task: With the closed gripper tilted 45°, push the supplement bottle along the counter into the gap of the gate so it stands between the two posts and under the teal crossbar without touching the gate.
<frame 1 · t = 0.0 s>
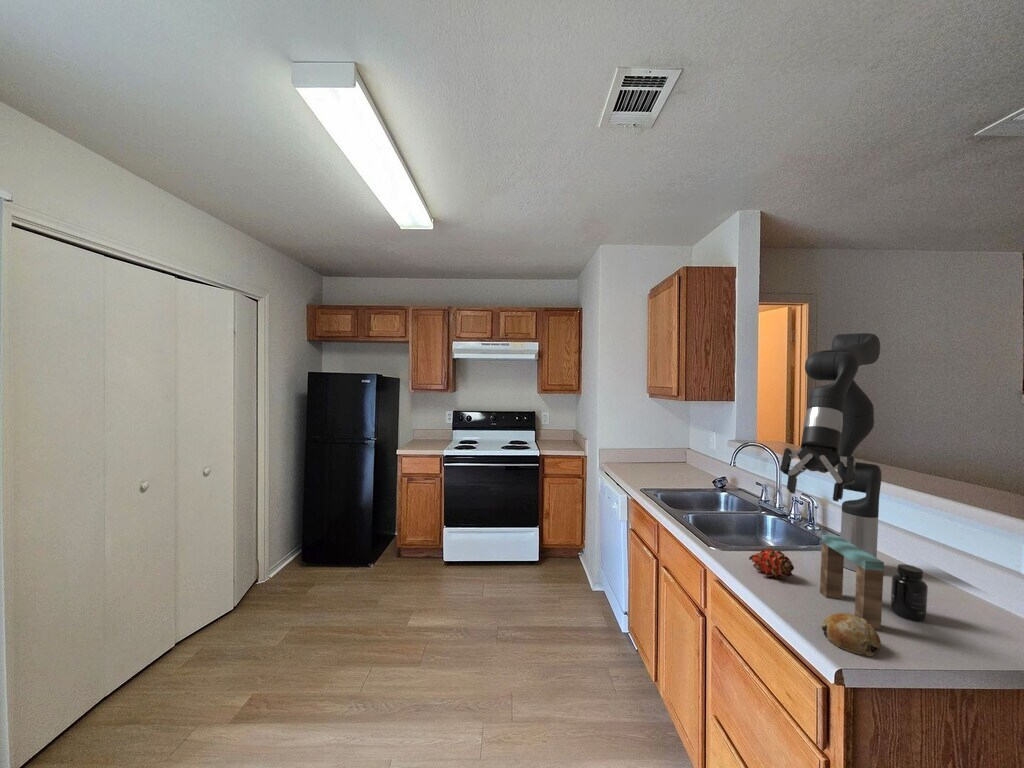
hand: (812, 496, 103), 31 cm above the worktop, tool tilted 20°, fingers open, 8 cm apart
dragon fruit: (770, 576, 134), on the worktop
supplement bottle: (907, 615, 113), on the worktop
bread roll: (848, 643, 100), on the worktop
gate: (847, 609, 115), on the worktop
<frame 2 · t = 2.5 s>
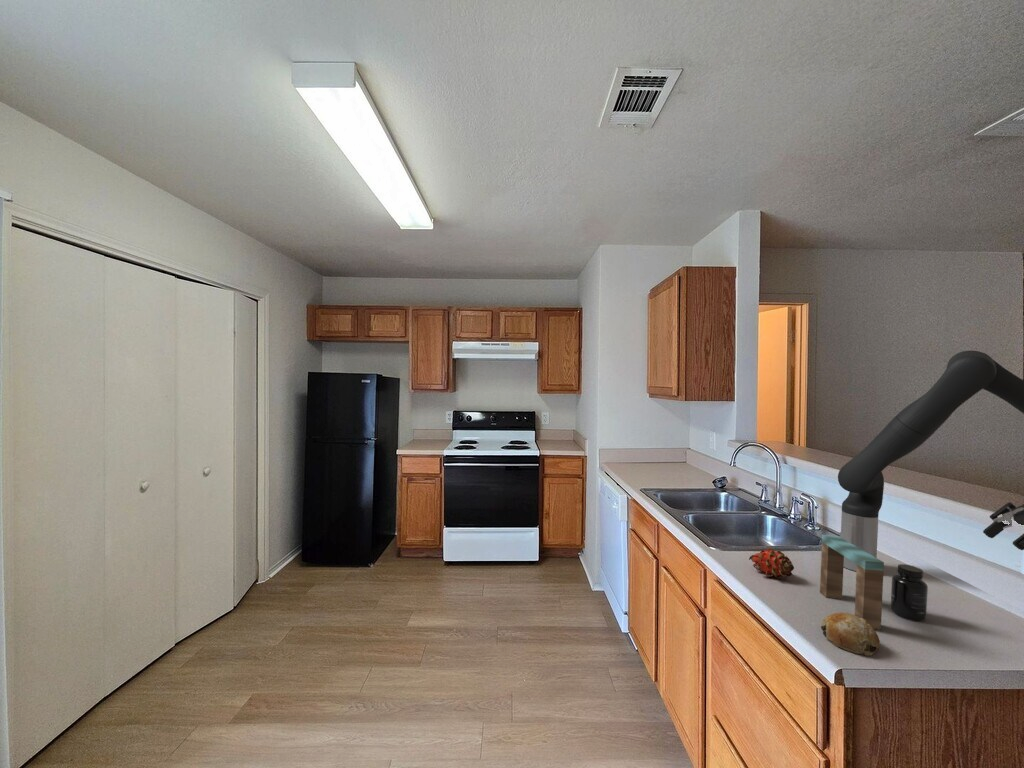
hand: (1001, 540, 110), 21 cm above the worktop, tool tilted 45°, fingers open, 8 cm apart
nothing on the worktop moved.
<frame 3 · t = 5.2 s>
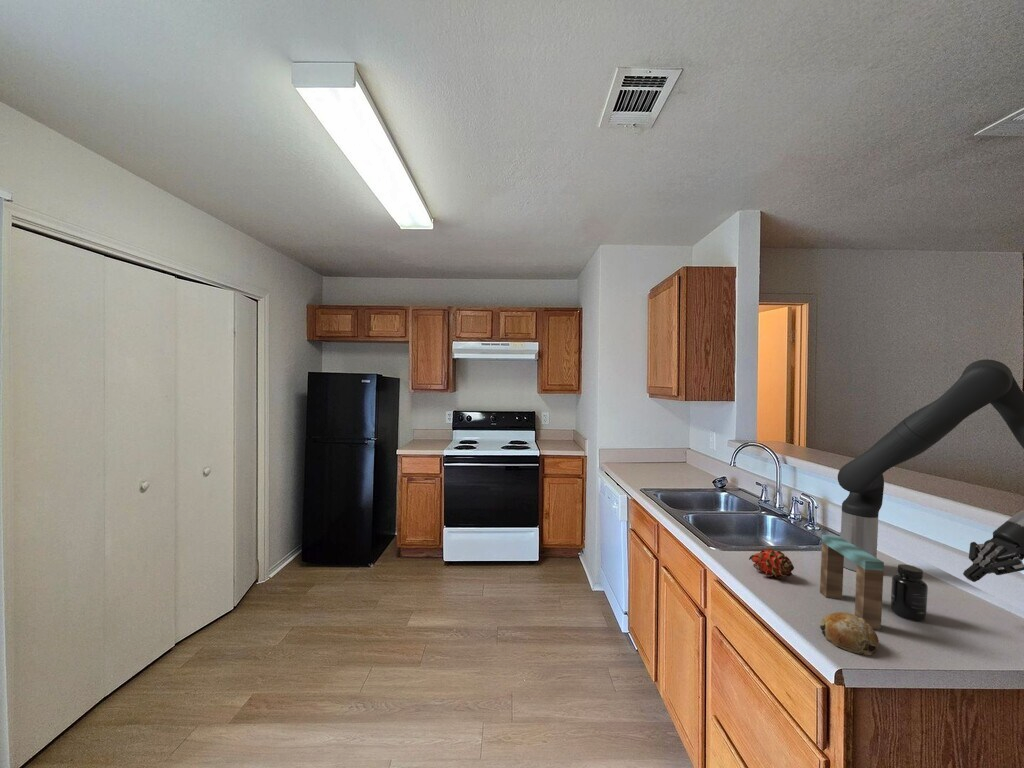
hand: (968, 578, 111), 10 cm above the worktop, tool tilted 45°, fingers closed
nothing on the worktop moved.
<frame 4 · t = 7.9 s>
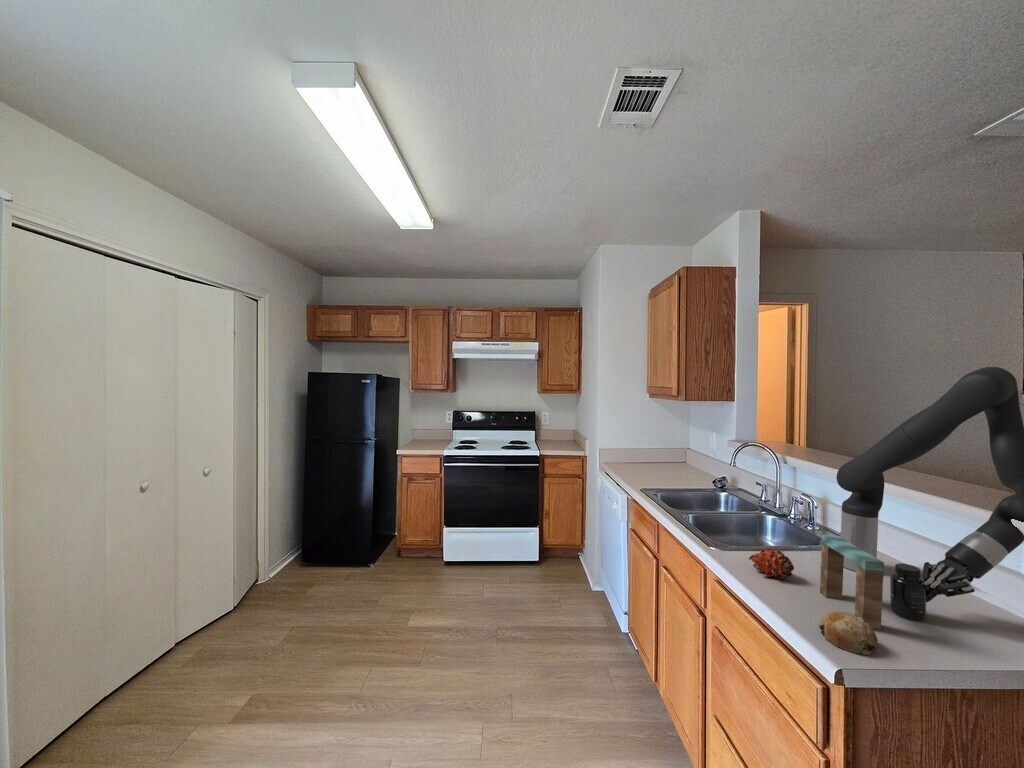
hand: (919, 599, 113), 4 cm above the worktop, tool tilted 45°, fingers closed
supplement bottle: (907, 614, 113), on the worktop, touching gripper
everything else where it was.
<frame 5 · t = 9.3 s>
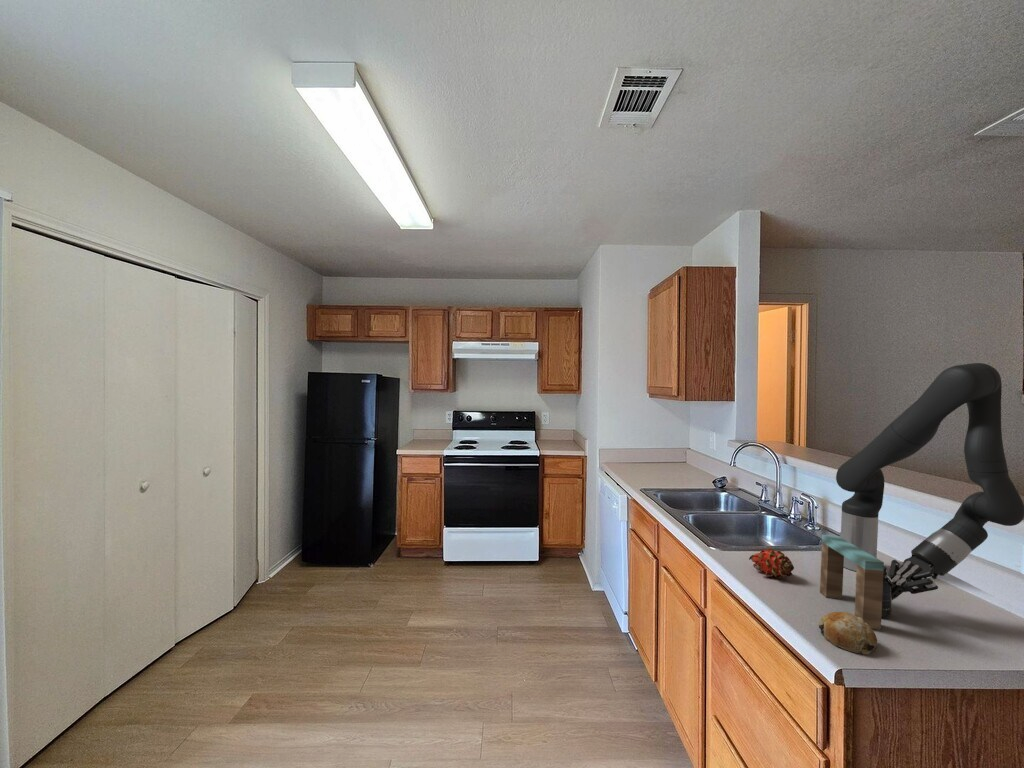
hand: (886, 596, 114), 4 cm above the worktop, tool tilted 45°, fingers closed
supplement bottle: (874, 612, 114), on the worktop, touching gripper
everything else where it was.
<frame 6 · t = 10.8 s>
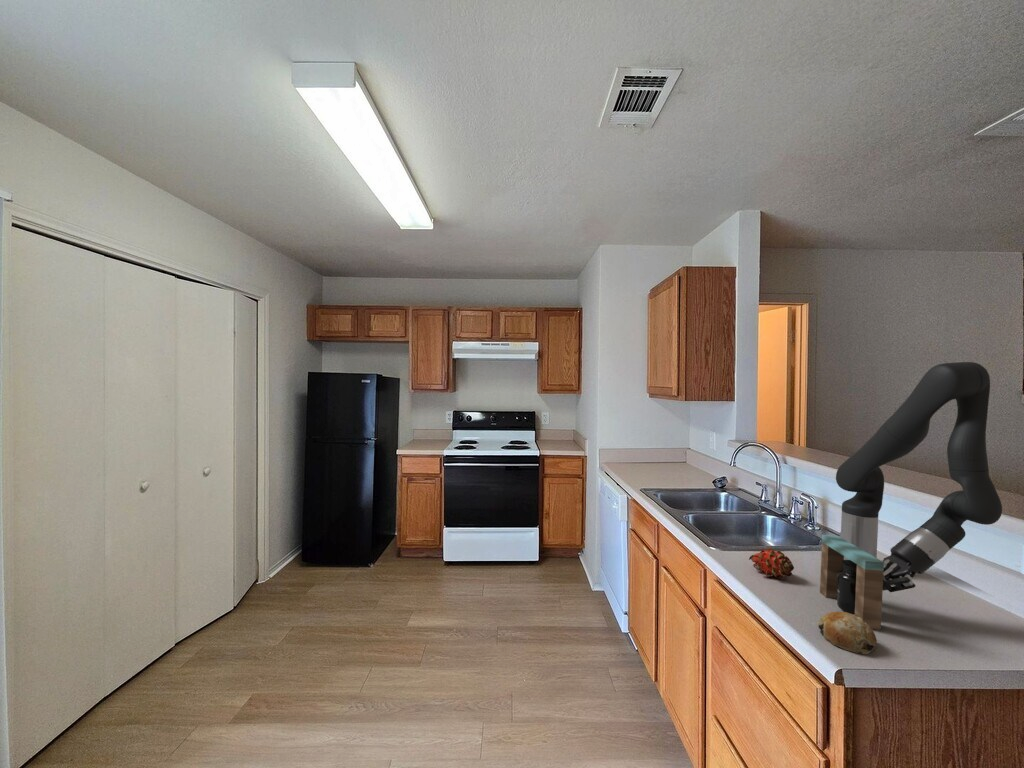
hand: (865, 594, 114), 4 cm above the worktop, tool tilted 45°, fingers closed
supplement bottle: (853, 610, 115), on the worktop, touching gripper
everything else where it was.
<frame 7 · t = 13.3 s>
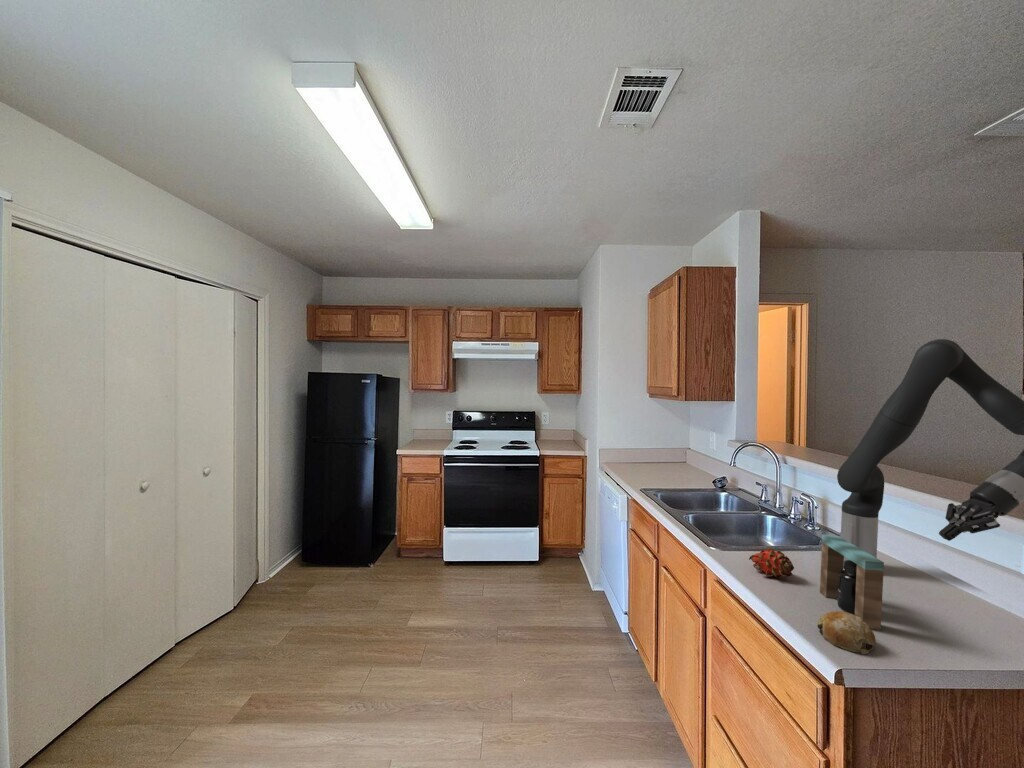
hand: (943, 537, 113), 20 cm above the worktop, tool tilted 45°, fingers closed
supplement bottle: (853, 610, 115), on the worktop
everything else where it was.
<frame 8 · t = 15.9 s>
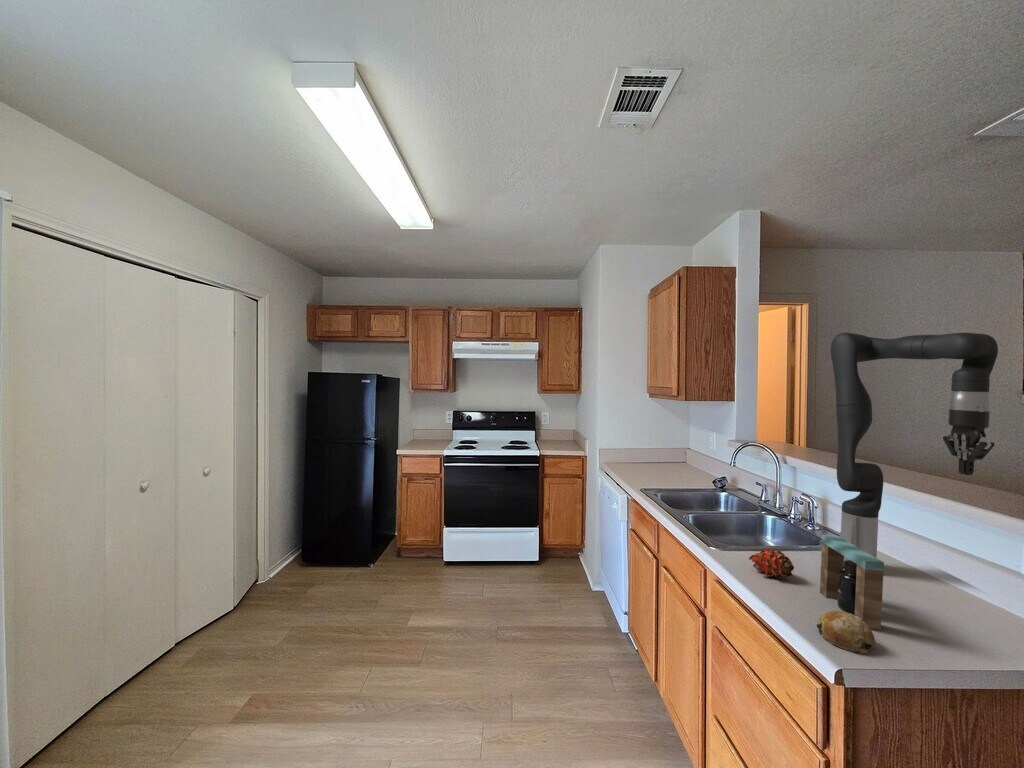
hand: (965, 474, 119), 35 cm above the worktop, tool pointing down, fingers closed
at the end: supplement bottle inside the target area (2.1 cm from its centre), on the worktop; supplement bottle tilted 0°; supplement bottle touching worktop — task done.
